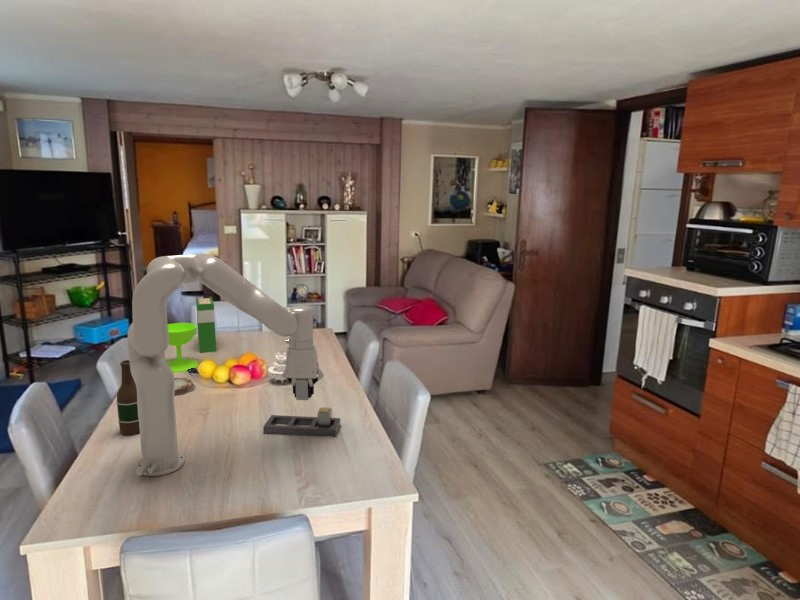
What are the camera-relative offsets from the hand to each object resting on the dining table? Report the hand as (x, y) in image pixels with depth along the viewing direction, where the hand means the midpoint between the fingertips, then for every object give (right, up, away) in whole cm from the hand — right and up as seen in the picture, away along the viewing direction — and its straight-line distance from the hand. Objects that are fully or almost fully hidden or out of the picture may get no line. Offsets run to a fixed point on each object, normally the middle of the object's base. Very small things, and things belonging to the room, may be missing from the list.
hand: (303, 395), depth 173 cm
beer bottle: (-56, -11, -2) cm, 57 cm away
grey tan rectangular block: (+7, -12, +2) cm, 14 cm away
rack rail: (-1, -12, +2) cm, 12 cm away
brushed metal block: (0, -1, 0) cm, 1 cm away
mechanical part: (-17, -2, +45) cm, 49 cm away
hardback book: (-65, +8, +88) cm, 109 cm away
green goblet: (-66, +2, +60) cm, 89 cm away
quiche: (-57, -5, +34) cm, 67 cm away
